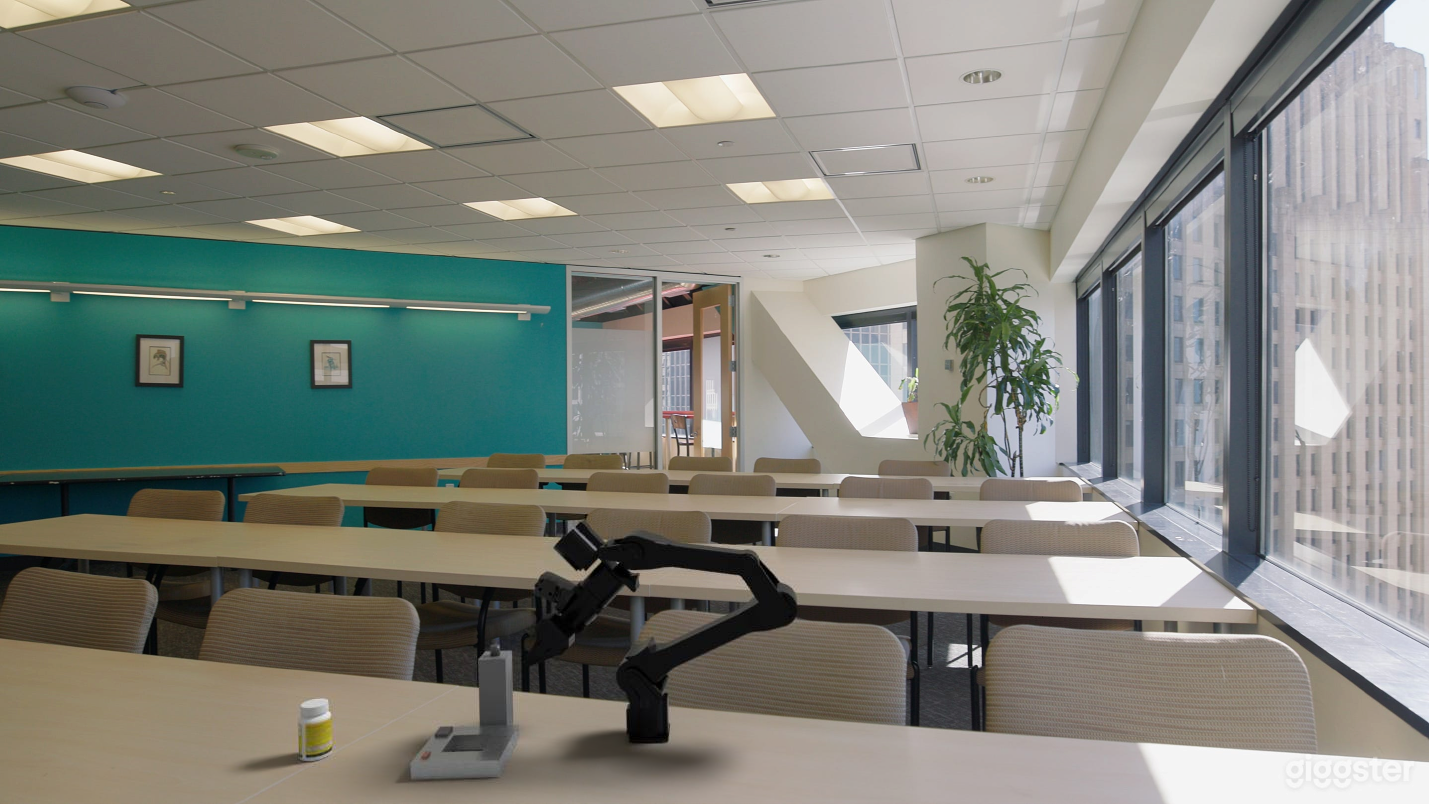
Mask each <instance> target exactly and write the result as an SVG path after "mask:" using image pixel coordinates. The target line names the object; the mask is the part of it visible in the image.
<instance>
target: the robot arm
mask: <svg viewBox="0 0 1429 804" xmlns="http://www.w3.org/2000/svg"><path fill="white" fill-rule="evenodd" d="M552 548H553V550H554V551H555V552H557V554H558V555H559V556H560V557H561V558H562V559H563V560H564V561H566V563H567V564H568V565H569V566H570V567H572V569H573V570H574V571H575V572H578V571H579V572H581V571H584V572H585V573H586V572H587V571H589V569H590V568H591V567H592V566H593V565H594V564H595V563H596V562H598V560H600V562H599V563H598V564H597V566H596V567H595V568H594V569H593V570H592V571H590V573H589V574H588V575H586V577H585V578H584V579H583V580H582V579H581V580H580V581H579V582H578V583H577V584H575V583H574V582H572V581H570V579H567V578H565V577H563V576H560V575H558V574H556V573H554V572H551V571H548V570H547V571H544V573H542V574H540V575H539V578H538V580H537V582H536V583H535V584H534V590H533V592H532V593H533V595H534V596H536V597H537V598H540V597H541V598H543V599H545V600H547V601H549V602H551V603H553V604H556V605H555V606H554V609H555V610H556V612H557V613H553V612H552V613H551V612H550V613H547V614H545V615H544V616H543V617H541V619H540V620H539V621H538V622H537V623H536V624H535V625H534V626H533V631H534V634H535V641H534V642H533V645H532V646H531V648H530V650H529V651H528V653H527V655H526V657H525V658H524V660H523V661H522V664H523V666H524V667H525V668H531V667H532V666H535V665H537V664H539V663H542V662H545V661H547V660H550V659H552V658H556V657H557V656H558V657H559V656H562V655H563V654H564V653H565V652H566V651H567V650H568V649H569V648H570V647H571V646H572V645H573V643H574V642H575V641H576V640H575V639H576V637H575V636H576V635H579V634H581V633H582V632H584V630H585V629H586V628H588V627H589V626H590V625H591V624H592V623H593V622H594V621H595V620H596V619H597V617H598V615H599V614H600V613H601V612H602V611H603V610H604V609H605V608H606V607H607V606H608V605H609V604H610V603H611V602H612V601H613V599H614V598H615V597H616V596H617V595H619V594H620V592H621V591H622V590H623V589H624V588H625V587H626V588H627V589H629V590H630V592H632V593H636V592H637V591H638V589H639V588H640V575H641V573H639V572H632V571H649V570H658V569H664V568H665V569H666V568H676V569H677V568H678V569H685V570H691V571H692V570H693V571H701V572H708V573H709V572H710V573H716V574H723V575H730V576H731V575H732V576H733V575H734V576H739V577H740V578H741V579H742V580H743V581H744V583H745V584H746V586H747V587H748V589H749V590H750V592H751V594H752V595H753V597H752V598H751V599H750V600H749V601H747V602H746V603H745V604H744V605H743V606H742V607H741V606H740V608H738V609H736V610H734V611H732V612H729V613H727V614H725V615H723V616H721V617H718V618H717V619H715V620H712V621H711V622H708V623H706V624H704V625H702V626H699V627H697V628H695V629H693V630H691V631H688V632H687V633H684V634H682V635H680V636H678V637H675V638H673V639H672V640H669V641H667V642H661V643H660V642H659V643H656V640H655V637H654V636H651V637H649V638H648V639H646V640H645V641H643V642H642V643H638V644H636V643H635V644H632V646H631V647H630V648H629V650H628V652H627V654H626V655H625V656H624V658H623V659H622V661H621V663H620V664H619V666H618V667H617V669H616V673H615V681H616V683H617V686H618V687H619V689H620V690H622V691H623V692H624V693H625V696H626V698H627V700H628V702H629V703H628V704H627V706H626V709H625V715H626V716H625V717H626V718H625V719H626V734H627V735H628V742H629V743H649V742H650V743H651V742H654V743H655V742H668V741H669V740H670V731H671V723H670V720H669V719H670V718H669V717H670V714H669V713H670V712H669V709H670V708H669V693H668V692H665V690H666V689H667V688H668V685H669V684H668V683H669V681H670V678H671V677H670V675H669V673H670V672H671V671H672V670H674V669H675V668H677V667H680V666H682V665H684V664H686V663H689V662H690V661H692V660H694V659H697V658H699V657H702V656H703V655H706V654H708V653H709V652H712V651H714V650H716V649H719V648H721V647H722V646H725V645H727V644H729V643H731V642H733V641H736V640H737V639H740V638H742V637H745V636H746V635H749V634H752V633H763V632H764V633H766V632H770V631H773V630H777V629H781V628H785V627H788V626H789V625H791V624H792V623H793V622H794V621H795V620H796V617H797V614H798V598H797V594H796V591H795V590H794V589H793V588H792V587H791V586H790V585H789V584H786V583H783V582H781V581H780V580H779V579H778V578H777V576H776V575H775V573H773V572H772V571H771V569H770V568H769V567H768V566H767V565H766V564H765V563H764V562H763V561H762V559H761V558H760V557H759V555H758V553H757V552H756V551H754V550H752V549H750V548H749V549H748V548H747V549H736V548H730V547H728V548H727V547H722V546H721V547H720V546H714V545H713V546H712V545H706V544H705V545H704V544H696V543H689V542H688V543H687V542H680V541H675V540H672V539H670V538H667V537H666V536H665V537H664V536H662V535H661V534H658V533H654V532H651V531H648V530H644V529H636V530H632V531H631V532H629V533H628V534H626V536H623V537H619V538H611V539H608V540H606V541H605V540H603V538H601V536H600V535H598V533H597V532H596V531H595V530H594V529H592V527H591V526H590V524H589V523H588V522H587V521H586V520H585V519H582V520H581V521H579V522H578V523H577V525H575V526H574V527H572V529H570V530H569V531H568V532H567V533H566V534H564V535H563V536H562V537H560V538H559V540H558V541H557V542H556V544H555V545H554V546H553V547H552Z"/></svg>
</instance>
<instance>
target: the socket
mask: <svg viewBox="0 0 1429 804" xmlns="http://www.w3.org/2000/svg"><path fill="white" fill-rule="evenodd" d="M519 741H520V725H519V724H513V725H494V726H480V725H468V726H467V725H466V726H453V725H452V726H446V725H445V726H438V728H437V730H436V731H435V732H434V733H433V734H432V736H431V737H430V738H429V739H428V741H427V742H426V743H425V744H424V745H423V747H422V748H421V749H420V751H419V752H418V753H417V754H416V755H415V756H414V759H412V760H411V762H410V780H411V781H419V780H421V781H424V780H453V779H483V778H500V776H501V775H502V773H503V771H504V770H505V767H506V765H507V763H508V761H509V760H510V758H511V756H512V754H513V752H514V750H515V749H516V747H517V745H518V743H519ZM461 750H463V751H461ZM453 751H454V752H453Z"/></svg>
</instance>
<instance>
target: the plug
mask: <svg viewBox="0 0 1429 804" xmlns="http://www.w3.org/2000/svg"><path fill="white" fill-rule="evenodd" d="M489 647H490V648H489V649H490V650H489V651H487V650H485V651H484V652H483V654H482V655H481V656H480V657H479V658H478V661H477V664H478V667H477V668H478V670H477V671H478V706H479V709H478V711H479V712H478V713H479V726H494V725H514V691H513V686H514V685H513V651H512V650H501V645H500V644H497V643H495V644H492V645H490V646H489Z"/></svg>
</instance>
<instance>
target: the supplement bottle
mask: <svg viewBox="0 0 1429 804" xmlns="http://www.w3.org/2000/svg"><path fill="white" fill-rule="evenodd" d="M299 707H300V709H299V710H300V716H299V718H298V720H297V728H298V731H297V733H298V735H297V737H298V756H299V757H298V759H300V761H303V762H317V761H320V760H323V759H325V758H327V757H328V756H330V755H331V754H332V752H333V734H332V733H333V730H332V729H333V728H332V713H331V712H330V711H329V708H330V706H329V700H328V699H326V698H314V699H309V700H306V701H304V702H302V703H301V704H300V705H299Z"/></svg>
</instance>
